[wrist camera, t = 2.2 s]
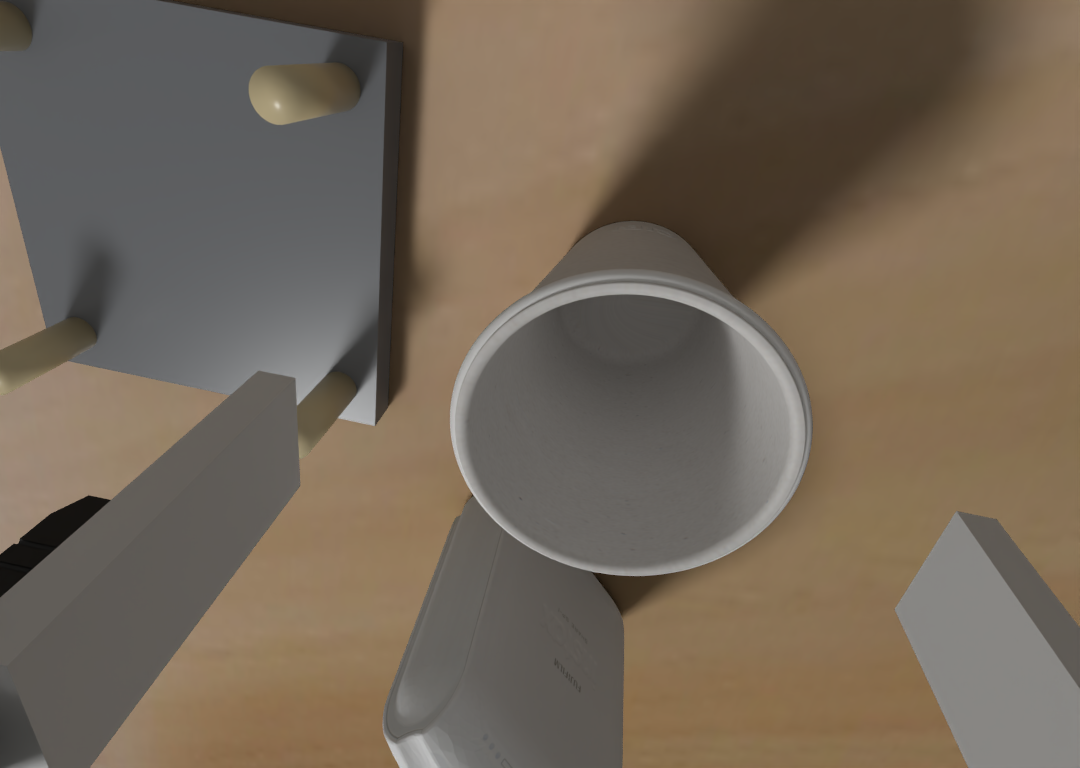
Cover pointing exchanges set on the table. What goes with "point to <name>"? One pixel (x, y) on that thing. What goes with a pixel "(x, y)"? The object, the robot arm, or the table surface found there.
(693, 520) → the dixie cup
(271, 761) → the table surface
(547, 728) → the photo printer
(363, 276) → the plate
